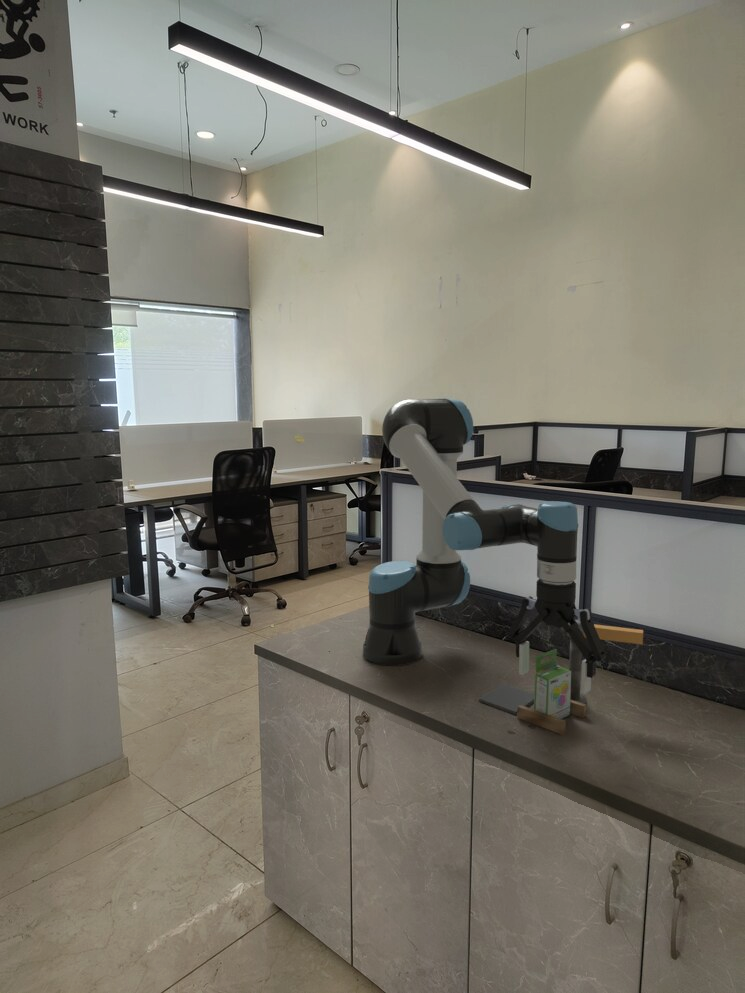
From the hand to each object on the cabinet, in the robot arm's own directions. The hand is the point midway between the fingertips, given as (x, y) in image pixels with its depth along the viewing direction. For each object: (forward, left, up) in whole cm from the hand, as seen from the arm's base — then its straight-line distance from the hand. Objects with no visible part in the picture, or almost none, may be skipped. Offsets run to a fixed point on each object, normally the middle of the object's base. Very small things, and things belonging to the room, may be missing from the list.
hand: (553, 682), depth 130 cm
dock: (0, +4, -8) cm, 9 cm away
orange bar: (+5, +12, +7) cm, 15 cm away
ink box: (0, 0, -8) cm, 8 cm away
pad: (-11, +1, -8) cm, 13 cm away
